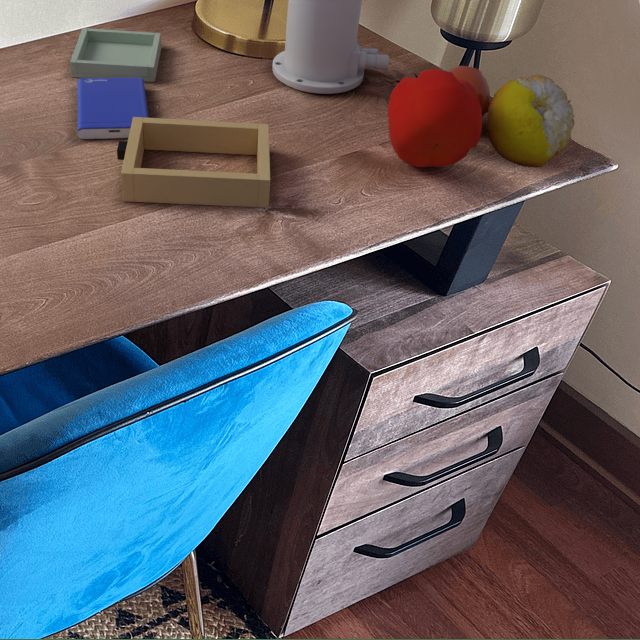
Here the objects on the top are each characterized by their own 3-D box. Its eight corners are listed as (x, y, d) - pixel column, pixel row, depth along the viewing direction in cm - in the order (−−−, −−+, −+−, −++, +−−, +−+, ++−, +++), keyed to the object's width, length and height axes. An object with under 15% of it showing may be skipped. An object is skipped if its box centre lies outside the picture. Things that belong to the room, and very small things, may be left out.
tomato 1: (453, 186, 101) (442, 125, 104) (507, 127, 90) (492, 61, 94) (373, 175, 97) (365, 112, 100) (420, 113, 87) (408, 45, 90)
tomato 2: (508, 76, 104) (495, 138, 105) (467, 83, 111) (455, 142, 111) (465, 56, 100) (452, 121, 100) (425, 65, 107) (413, 126, 107)
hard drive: (76, 77, 104) (77, 127, 95) (143, 77, 106) (149, 125, 97) (78, 89, 105) (78, 139, 96) (144, 88, 107) (150, 137, 98)
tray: (161, 47, 116) (160, 32, 115) (154, 82, 108) (154, 67, 107) (83, 42, 115) (82, 27, 114) (71, 77, 107) (69, 61, 106)
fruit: (564, 177, 102) (580, 157, 94) (479, 170, 103) (487, 149, 95) (571, 91, 104) (587, 63, 96) (486, 84, 104) (495, 57, 97)
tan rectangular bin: (267, 150, 98) (268, 124, 96) (268, 207, 89) (270, 180, 87) (125, 143, 96) (123, 116, 94) (113, 201, 88) (110, 172, 85)
